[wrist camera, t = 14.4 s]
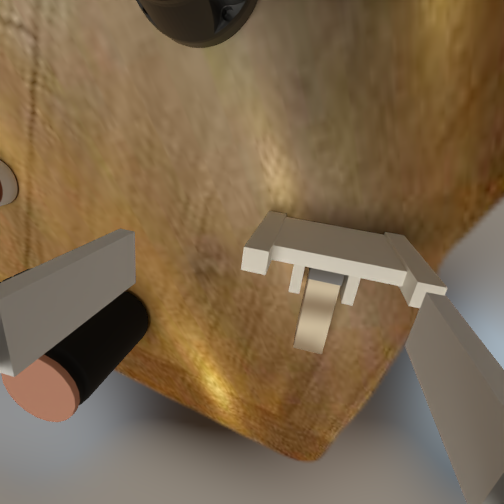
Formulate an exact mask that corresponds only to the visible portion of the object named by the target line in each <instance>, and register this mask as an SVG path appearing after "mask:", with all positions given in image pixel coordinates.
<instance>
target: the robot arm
mask: <svg viewBox="0 0 504 504" xmlns="http://www.w3.org/2000/svg"><path fill="white" fill-rule="evenodd" d="M136 1H137V3H138V4H139V6H140V8H141V10H142V11H143V13H144V14H145V16H146V17H147V18H148V20H149V21H150V22H151V23H152V24H153V25H154V26H155V27H156V28H157V29H158V30H159V31H161V32H162V33H163V34H165V35H166V36H168V37H169V38H171V39H172V40H174V41H176V42H178V43H180V44H182V45H185V46H189V47H195V48H204V47H210V46H214V45H217V44H219V43H221V42H223V41H225V40H227V39H228V38H230V37H231V36H232V35H234V34H235V33H236V32H237V31H238V30H239V29H240V28H241V27H242V26H243V24H244V23H245V22H246V20H247V19H248V18H249V16H250V14H251V13H252V11H253V9H254V7H255V5H256V2H257V0H136ZM135 283H136V276H135V232H134V231H129V230H124V229H118V230H116V231H114V232H112V233H109V234H107V235H105V236H103V237H101V238H98V239H96V240H94V241H92V242H90V243H87V244H85V245H83V246H81V247H79V248H76V249H74V250H72V251H70V252H67V253H65V254H63V255H61V256H59V257H56V258H54V259H52V260H50V261H48V262H45V263H43V264H41V265H39V266H37V267H34V268H31V269H27V270H25V271H23V272H21V273H18V274H16V275H14V277H9V278H7V279H5V280H3V282H0V373H3V374H6V375H9V376H12V377H15V376H17V375H18V374H19V373H20V372H22V371H23V370H24V369H26V368H27V367H28V366H29V365H31V364H32V363H33V362H35V361H36V360H37V359H38V358H40V357H41V356H42V355H43V354H45V353H46V352H47V351H49V350H50V349H51V348H52V347H54V346H55V345H56V344H58V343H59V342H60V341H61V340H63V339H64V338H65V337H67V336H68V335H69V334H70V333H72V332H73V331H74V330H76V329H77V328H78V327H79V326H81V325H82V324H83V323H85V322H86V321H87V320H88V319H90V318H91V317H92V316H94V315H95V314H96V313H97V312H99V311H100V310H101V309H103V308H104V307H105V306H106V305H108V304H109V303H110V302H112V301H113V300H114V299H115V298H117V297H118V296H119V295H120V294H122V293H123V292H124V291H126V290H127V289H128V288H129V287H131V286H132V285H133V284H135ZM405 347H406V350H407V352H408V355H409V357H410V360H411V363H412V365H413V368H414V370H415V373H416V375H417V378H418V380H419V383H420V385H421V388H422V390H423V393H424V395H425V398H426V401H427V403H428V406H429V408H430V411H431V413H432V416H433V418H434V421H435V423H436V426H437V428H438V431H439V434H440V436H441V439H442V441H443V444H444V446H445V449H446V451H447V454H448V456H449V459H450V461H451V464H452V467H453V469H454V471H455V474H456V477H457V479H458V482H459V484H460V487H461V489H462V492H463V494H464V497H465V500H466V502H467V504H504V370H503V368H502V367H501V366H500V364H499V363H498V362H497V361H496V359H495V358H494V357H493V355H492V354H491V353H490V352H489V350H488V349H487V348H486V347H485V345H484V344H483V343H482V341H481V340H480V339H479V338H478V336H477V335H476V334H475V332H474V331H473V330H472V329H471V327H470V326H469V325H468V323H467V322H466V321H465V320H464V318H463V317H462V316H461V314H460V313H459V312H458V310H457V309H456V308H455V307H454V305H453V304H452V303H451V302H450V300H449V299H448V298H447V296H443V295H438V294H434V293H429V292H426V294H425V297H424V299H423V302H422V304H421V307H420V309H419V312H418V314H417V317H416V319H415V322H414V324H413V327H412V329H411V332H410V334H409V337H408V339H407V342H406V344H405Z"/></svg>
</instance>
